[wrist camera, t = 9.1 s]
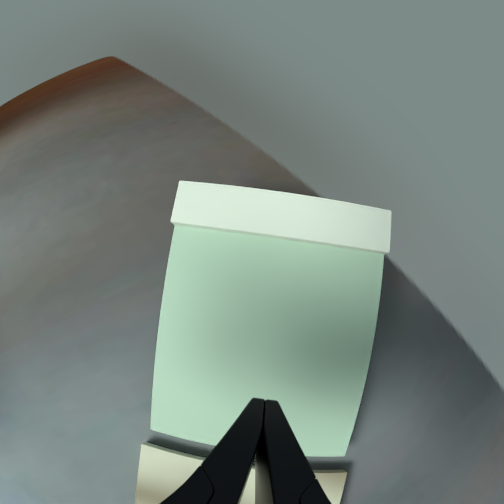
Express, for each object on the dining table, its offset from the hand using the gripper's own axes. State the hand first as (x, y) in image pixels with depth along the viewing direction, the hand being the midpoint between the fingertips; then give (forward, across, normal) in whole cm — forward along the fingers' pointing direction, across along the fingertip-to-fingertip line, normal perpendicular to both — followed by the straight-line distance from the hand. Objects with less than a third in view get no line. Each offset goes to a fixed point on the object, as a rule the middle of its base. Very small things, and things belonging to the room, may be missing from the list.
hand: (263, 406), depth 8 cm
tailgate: (+4, 0, +9) cm, 9 cm away
